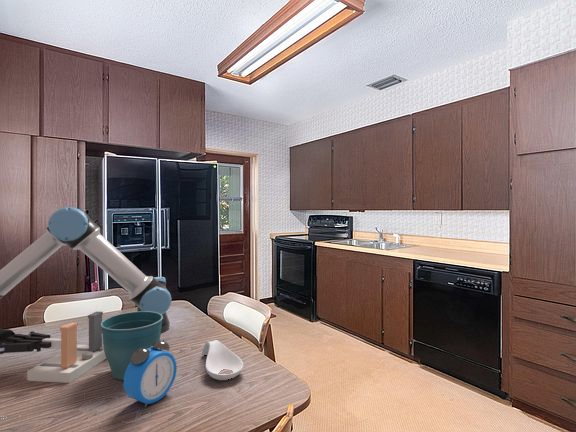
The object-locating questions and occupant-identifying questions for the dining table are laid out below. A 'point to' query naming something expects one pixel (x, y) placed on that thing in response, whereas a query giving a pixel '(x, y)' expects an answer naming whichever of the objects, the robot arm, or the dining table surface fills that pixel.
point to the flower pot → (128, 337)
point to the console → (56, 373)
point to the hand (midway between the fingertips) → (63, 344)
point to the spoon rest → (221, 360)
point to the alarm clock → (150, 373)
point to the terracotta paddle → (68, 344)
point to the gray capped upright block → (95, 331)
